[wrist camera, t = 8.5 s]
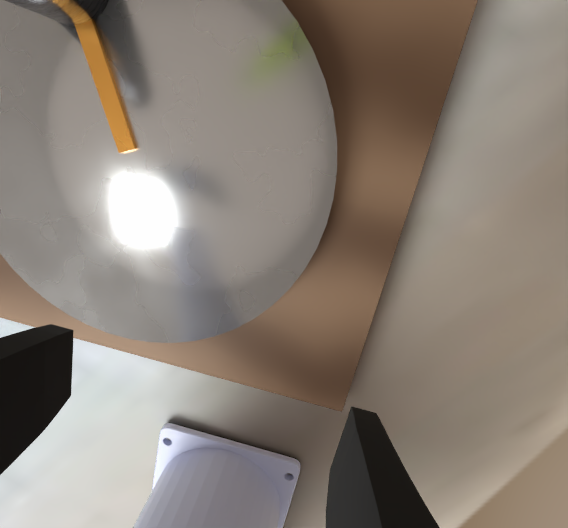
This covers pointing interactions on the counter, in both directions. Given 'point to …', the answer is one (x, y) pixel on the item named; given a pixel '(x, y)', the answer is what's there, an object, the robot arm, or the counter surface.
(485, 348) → the counter surface
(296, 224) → the dial
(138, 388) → the counter surface
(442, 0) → the dial base
